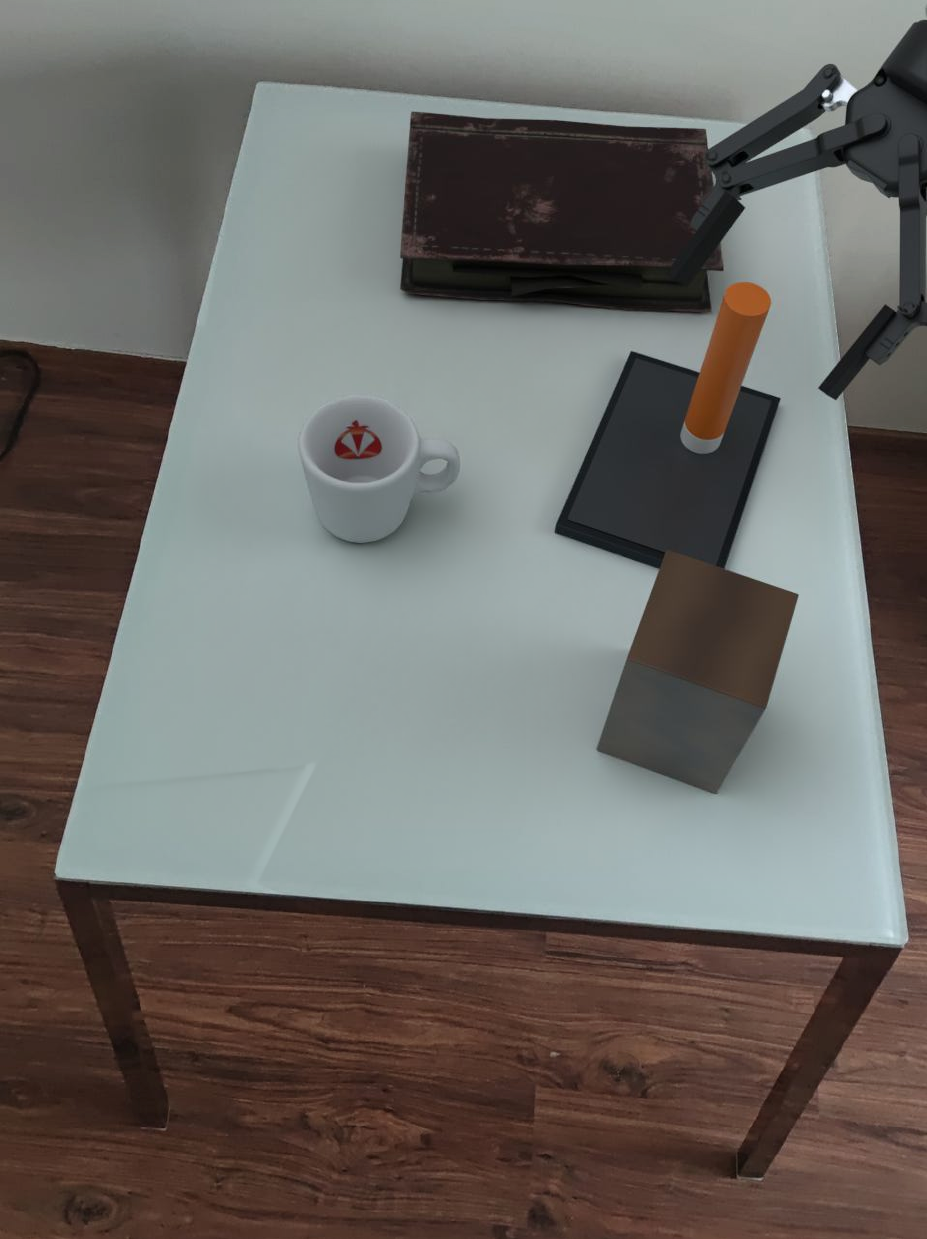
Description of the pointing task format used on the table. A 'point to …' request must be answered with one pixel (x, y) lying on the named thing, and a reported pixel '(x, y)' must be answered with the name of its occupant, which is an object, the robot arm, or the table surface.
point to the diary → (553, 212)
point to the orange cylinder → (725, 365)
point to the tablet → (665, 470)
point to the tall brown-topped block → (698, 671)
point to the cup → (368, 465)
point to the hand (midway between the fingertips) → (749, 336)
